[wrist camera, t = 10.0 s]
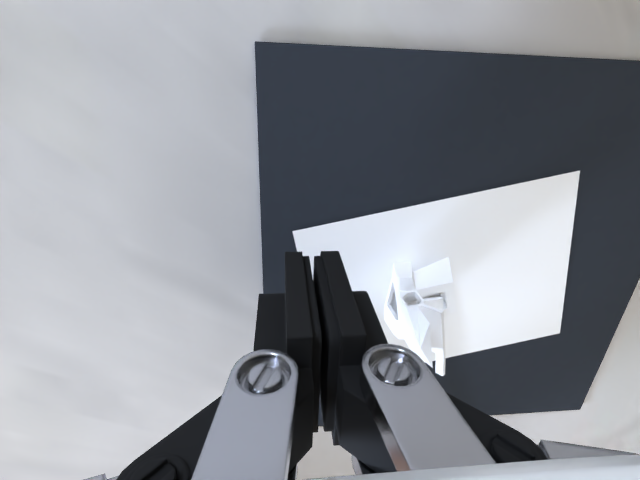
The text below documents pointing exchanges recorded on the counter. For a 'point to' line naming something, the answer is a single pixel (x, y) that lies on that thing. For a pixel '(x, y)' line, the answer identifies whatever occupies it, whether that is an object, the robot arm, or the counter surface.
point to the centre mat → (462, 178)
